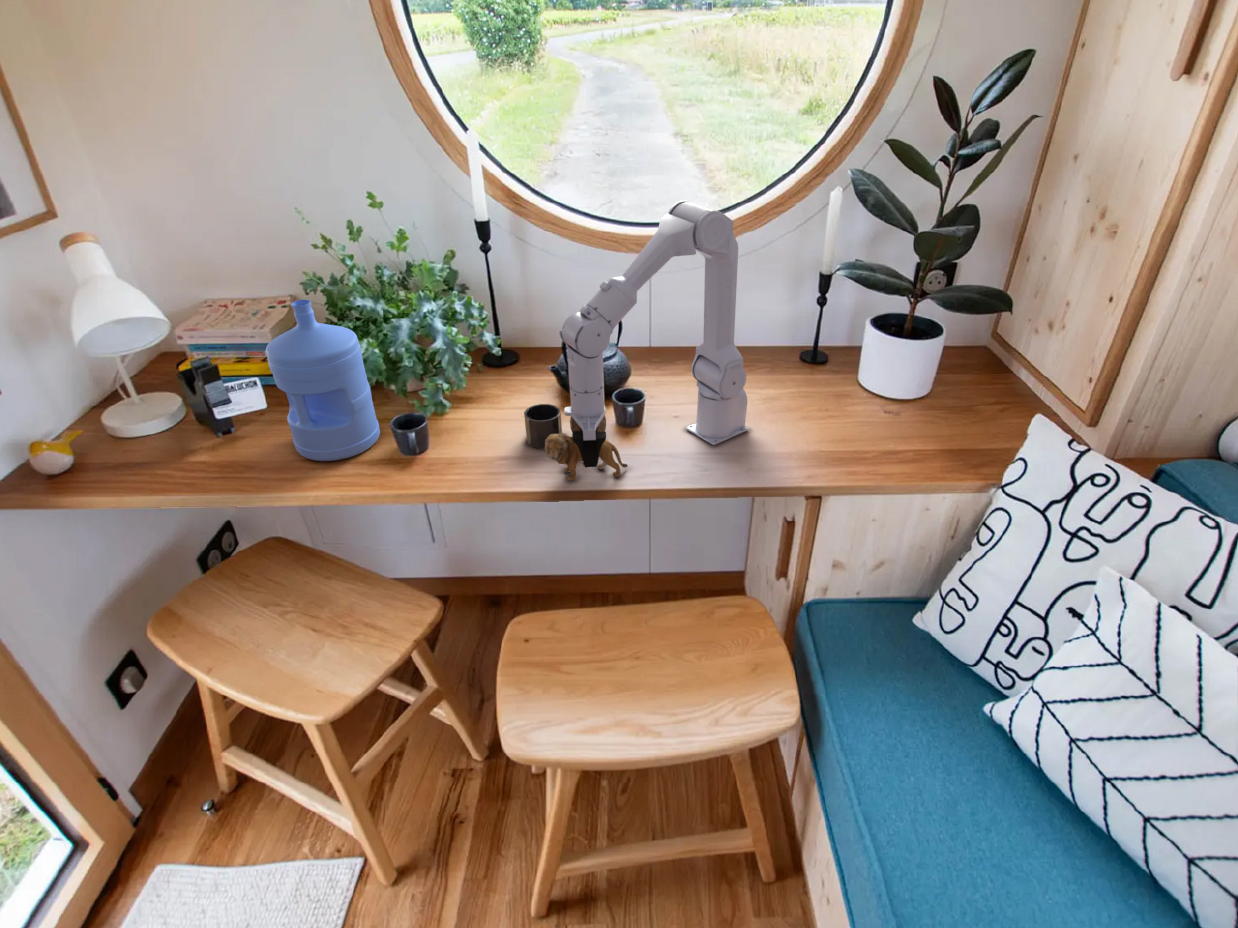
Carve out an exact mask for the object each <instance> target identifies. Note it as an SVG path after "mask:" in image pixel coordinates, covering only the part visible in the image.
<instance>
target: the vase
mask: <svg viewBox="0 0 1238 928" xmlns="http://www.w3.org/2000/svg"><path fill="white" fill-rule="evenodd" d="M569 417H570V418H569V424H570V431H571V432H572V431H580V428H579V425H578V424H577V423H576V421H575V420H574V419H573V418H572V416H569ZM606 428H607V417H606V414H605V415H604V417H603V419H602V420H601V422H600V423H599V425H598V429H597V432H606Z"/></svg>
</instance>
